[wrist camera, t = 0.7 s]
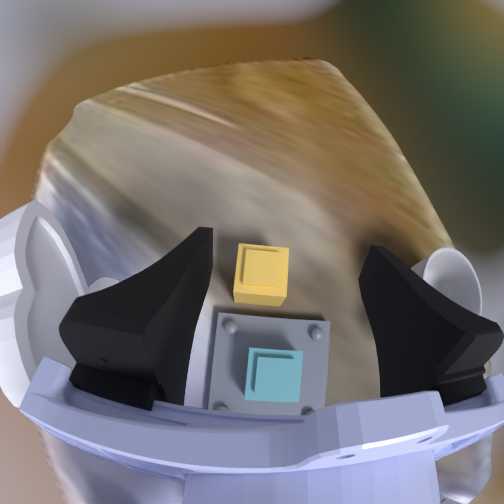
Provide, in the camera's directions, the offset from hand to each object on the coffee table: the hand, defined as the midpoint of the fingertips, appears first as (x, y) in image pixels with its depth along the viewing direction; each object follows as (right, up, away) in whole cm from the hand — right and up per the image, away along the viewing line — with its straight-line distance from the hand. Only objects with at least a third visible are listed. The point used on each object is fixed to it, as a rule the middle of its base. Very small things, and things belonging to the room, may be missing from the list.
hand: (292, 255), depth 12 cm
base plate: (0, -13, +15) cm, 20 cm away
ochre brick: (-1, -3, +19) cm, 19 cm away
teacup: (+19, -8, +18) cm, 27 cm away
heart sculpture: (-18, -9, +16) cm, 26 cm away
